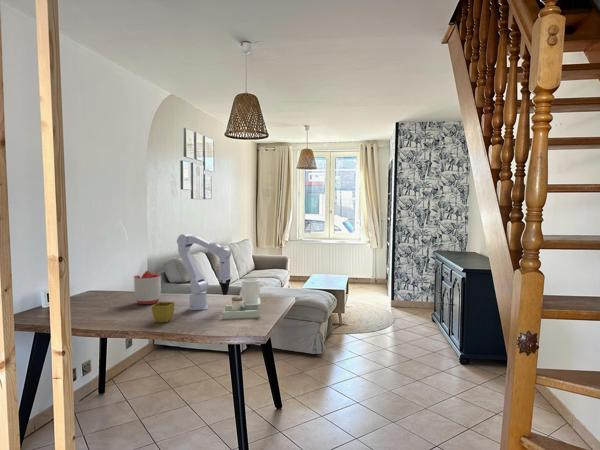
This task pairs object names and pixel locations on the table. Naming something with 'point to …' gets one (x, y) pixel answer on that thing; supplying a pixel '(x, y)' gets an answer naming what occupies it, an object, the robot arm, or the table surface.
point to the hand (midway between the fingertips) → (225, 293)
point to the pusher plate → (244, 306)
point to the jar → (250, 290)
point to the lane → (250, 312)
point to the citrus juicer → (147, 288)
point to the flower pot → (163, 311)
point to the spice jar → (237, 303)
